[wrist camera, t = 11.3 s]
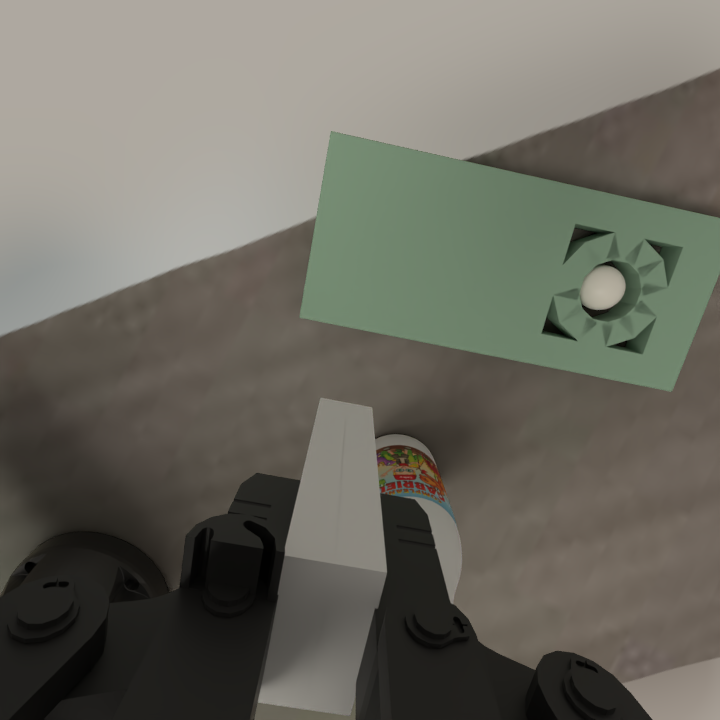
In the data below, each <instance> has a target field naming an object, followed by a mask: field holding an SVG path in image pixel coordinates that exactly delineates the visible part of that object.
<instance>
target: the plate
mask: <svg viewBox="0 0 720 720" xmlns="http://www.w3.org/2000/svg"><path fill="white" fill-rule="evenodd" d="M574 228H578V229H583V230H587V231H592V232H596V233H597V234H594V235H591V236H588V237H585V238H582V239H579V240H576V241H573V242H570V240H571V237H572V234H573V230H574ZM650 244H651V245H656V246H661V247H662V248H661V251H660V254H658V253H657V252H656V251H655V250H654V249H653V248H652V246H651V245H650ZM608 261H610V262H612V263H613V264H614V265H615V266H616V267H617V268H618V269H619V270H620V272H621V274H622V275H623V277H624V279H625V283H626V288H625V293H624V295H623V297H622V298H621V300H620V301H619V302H618V303H617V304H615V305H614V306H613V307H612V308H611V309H610V310H609V311H608V312H607V313H604V314H601V315H597V316H594V317H590V316H589V315H588V314H587V313H586V312H585V311H584V310H583V309H582V304H581V300H580V295H579V293H580V290H581V287H582V284H583V280H584V277H585V276H586V275H587V274H588V273H589V272H590V271H591V270H592V269H593V268H594V267H595V266H596V265H599V264H602V263H605V262H608ZM719 274H720V218H717V217H713V216H708V215H704V214H700V213H695V212H691V211H686V210H682V209H677V208H673V207H668V206H664V205H659V204H655V203H650V202H646V201H641V200H637V199H632V198H628V197H623V196H619V195H614V194H610V193H606V192H601V191H597V190H592V189H588V188H583V187H579V186H574V185H570V184H565V183H561V182H556V181H552V180H547V179H543V178H538V177H534V176H529V175H525V174H520V173H516V172H512V171H507V170H503V169H498V168H494V167H489V166H485V165H480V164H476V163H471V162H467V161H462V160H458V159H453V158H449V157H444V156H440V155H435V154H431V153H426V152H422V151H418V150H413V149H409V148H404V147H399V146H395V145H390V144H386V143H381V142H377V141H373V140H368V139H364V138H359V137H355V136H350V135H346V134H341V133H336V132H332V131H331V134H330V140H329V147H328V152H327V158H326V164H325V169H324V176H323V181H322V187H321V194H320V199H319V205H318V211H317V217H316V222H315V228H314V234H313V240H312V246H311V252H310V258H309V264H308V270H307V275H306V281H305V287H304V293H303V299H302V305H301V311H300V317H299V318H304V319H309V320H314V321H319V322H324V323H329V324H334V325H339V326H344V327H349V328H354V329H359V330H364V331H369V332H374V333H379V334H384V335H389V336H394V337H399V338H404V339H410V340H415V341H420V342H425V343H430V344H435V345H440V346H445V347H450V348H455V349H460V350H465V351H470V352H475V353H480V354H485V355H490V356H495V357H500V358H505V359H510V360H515V361H520V362H525V363H530V364H535V365H540V366H545V367H550V368H555V369H560V370H565V371H570V372H575V373H580V374H585V375H590V376H595V377H600V378H605V379H610V380H615V381H621V382H626V383H631V384H636V385H641V386H646V387H651V388H656V389H661V390H666V391H671V392H672V390H673V388H674V385H675V383H676V380H677V378H678V375H679V373H680V370H681V368H682V365H683V363H684V360H685V358H686V355H687V353H688V350H689V348H690V346H691V343H692V341H693V338H694V336H695V333H696V331H697V328H698V326H699V323H700V321H701V318H702V316H703V313H704V311H705V308H706V306H707V303H708V301H709V298H710V296H711V293H712V291H713V288H714V286H715V284H716V281H717V279H718V276H719ZM546 317H547V318H548V319H549V320H550V321H551V322H552V323H553V324H554V325H555V326H556V327H557V328H558V329H559V330H560V331H561V332H562V333H563V334H564V335H561V334H556V333H551V332H546V331H542V329H543V326H544V323H545V320H546ZM626 340H628V341H627V344H626V347H620V346H615V345H614V344H617V343H620V342H623V341H626Z"/></svg>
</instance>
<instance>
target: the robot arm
mask: <svg viewBox="0 0 720 720" xmlns="http://www.w3.org/2000/svg"><path fill="white" fill-rule="evenodd" d="M435 546H436V545H435V541H434V537H433V534H432V529H431V526H430V522H429V518H428V515H427V513H426V512H425V511H424V510H423V508H422V507H421V506H420V505H419V504H418V502H417V501H416V500H415V499H411V498H405V497H399V496H394V495H388V494H382V493H380V488H379V477H378V466H377V455H376V444H375V433H374V422H373V411H372V407H368V406H363V405H357V404H352V403H347V402H342V401H336V400H331V399H326V398H320V401H319V406H318V410H317V414H316V418H315V423H314V427H313V431H312V435H311V439H310V444H309V448H308V452H307V456H306V460H305V465H304V469H303V473H302V477H301V481H300V480H294V479H288V478H283V477H277V476H272V475H266V474H260V473H256V474H255V475H253V476H252V477H250V478H249V479H248V480H246V481H245V482H243V483H242V484H241V486H240V488H239V490H238V492H237V494H236V496H235V498H234V502H232V504H231V507H230V509H229V511H228V514H225V515H220V516H215V517H211V518H209V519H207V520H205V521H203V522H201V523H199V524H197V525H196V526H195V527H194V528H193V529H192V530H191V531H190V532H189V533H188V534H187V535H186V538H185V546H184V555H183V563H182V572H181V580H180V588H178V589H177V590H175V591H173V592H170V593H168V589H167V586H166V583H165V581H164V579H163V576H162V575H161V573H160V571H159V570H158V568H157V567H156V566H155V565H154V563H153V562H152V561H151V560H150V559H149V558H148V557H147V556H146V555H145V554H143V553H142V552H141V551H140V550H138V549H137V548H135V547H134V546H132V545H130V544H128V543H127V542H124V541H122V540H120V539H117V538H115V537H112V536H108V535H104V534H99V533H92V532H75V533H68V534H63V535H60V536H57V537H54V538H52V539H50V540H48V541H46V542H44V543H43V544H41V545H40V546H38V547H37V548H36V549H35V550H34V551H33V552H32V553H31V554H30V555H29V556H28V557H27V558H26V559H25V560H23V561H22V562H21V563H20V564H19V566H18V567H17V568H16V569H15V571H14V572H13V573H12V575H11V576H10V578H9V580H8V582H7V584H6V586H5V587H4V589H3V591H2V593H1V595H0V720H254V717H255V712H256V707H257V703H258V702H259V703H266V704H273V705H279V706H286V707H293V708H300V709H306V710H313V711H320V712H326V713H333V714H340V715H347V716H350V714H351V711H352V707H353V703H354V699H355V695H356V720H652V719H651V717H650V716H649V715H648V714H647V713H646V711H645V710H644V709H643V708H642V706H641V705H640V704H639V703H638V701H637V700H636V699H635V698H634V696H633V695H632V694H631V693H630V692H629V691H628V690H627V689H626V688H625V687H624V686H623V685H622V684H621V683H620V682H619V681H618V680H617V679H616V678H615V677H614V676H613V675H612V674H611V673H609V672H608V671H606V670H605V669H604V668H602V667H601V666H599V665H598V664H596V663H595V662H594V661H591V660H589V659H587V658H584V657H582V656H580V655H577V654H575V653H570V652H562V651H555V652H552V653H549V654H546V655H544V656H543V658H542V659H541V661H540V662H539V664H538V666H537V668H536V670H534V669H531V668H529V667H527V666H525V665H522V664H520V663H518V662H516V661H513V660H511V659H509V658H507V657H504V656H502V655H500V654H498V653H496V652H494V651H493V650H491V649H489V648H487V647H485V646H484V645H483V644H481V643H480V642H479V641H478V639H477V636H476V633H475V631H474V629H473V627H472V625H471V623H470V621H469V619H468V618H467V617H466V616H465V615H464V614H463V613H462V612H461V611H460V610H459V609H458V608H457V607H456V606H455V605H453V604H452V603H450V599H449V595H448V591H447V587H446V583H445V580H444V576H443V572H442V568H441V564H440V560H439V556H438V553H437V549H435Z"/></svg>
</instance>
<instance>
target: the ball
mask: <svg viewBox="0 0 720 720" xmlns="http://www.w3.org/2000/svg"><path fill="white" fill-rule="evenodd" d="M625 288H626V283H625V279H624V277H623V275H622V274H621V273H620V272H619V271H618V270H617V269H615V268H613V267H611V266H607V265H598V266H595V267H594V268H593V269H592V270H591V271H590V272H589V273H588V274H587V275H586V276H585V277H584V280H583V284H582V287H581V290H580V293H579V295H580V300H581V303H582V304H583V305H584V306H586V307H587V308H590V309H594V310H603V309H607V308H610V307H612V306H614V305H615V304H617V303H618V302H619V301H620V300H621V298H622V297H623V295H624V293H625Z"/></svg>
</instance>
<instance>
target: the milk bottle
mask: <svg viewBox="0 0 720 720" xmlns="http://www.w3.org/2000/svg"><path fill="white" fill-rule="evenodd" d="M375 444H376V455H377V466H378V477H379V488H380V493H382V494H388V495H394V496H399V497H405V498H411V499H415V500H416V501H417V502H418V504H419V505H420V506H421V507H422V508H423V510H424V511H425V512H426V513H427V515H428V518H429V522H430V526H431V529H432V534H433V537H434V541H435V545H436V546H435V549H437V553H438V556H439V560H440V564H441V568H442V572H443V576H444V580H445V583H446V587H447V591H448V595H449V599H450V603H452V604H453V602H454V595H455V591H456V588H457V585H458V582H459V578H460V574H461V567H462V548H461V541H460V536H459V532H458V529H457V525H456V521H455V518H454V515H453V512H452V509H451V506H450V503H449V500H448V497H447V494H446V491H445V488H444V485H443V483H442V480H441V477H440V474H439V471H438V468H437V466H436V463H435V461H434V458H433V456H432V454H431V452H430V451H429V450H428V448H427V447H426V446H425V445H424V444H423V443H421V442H420V441H418V440H417V439H415V438H412V437H410V436H406V435H400V434H391V435H385V436H382V437H379V438H377V439H375Z"/></svg>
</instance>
